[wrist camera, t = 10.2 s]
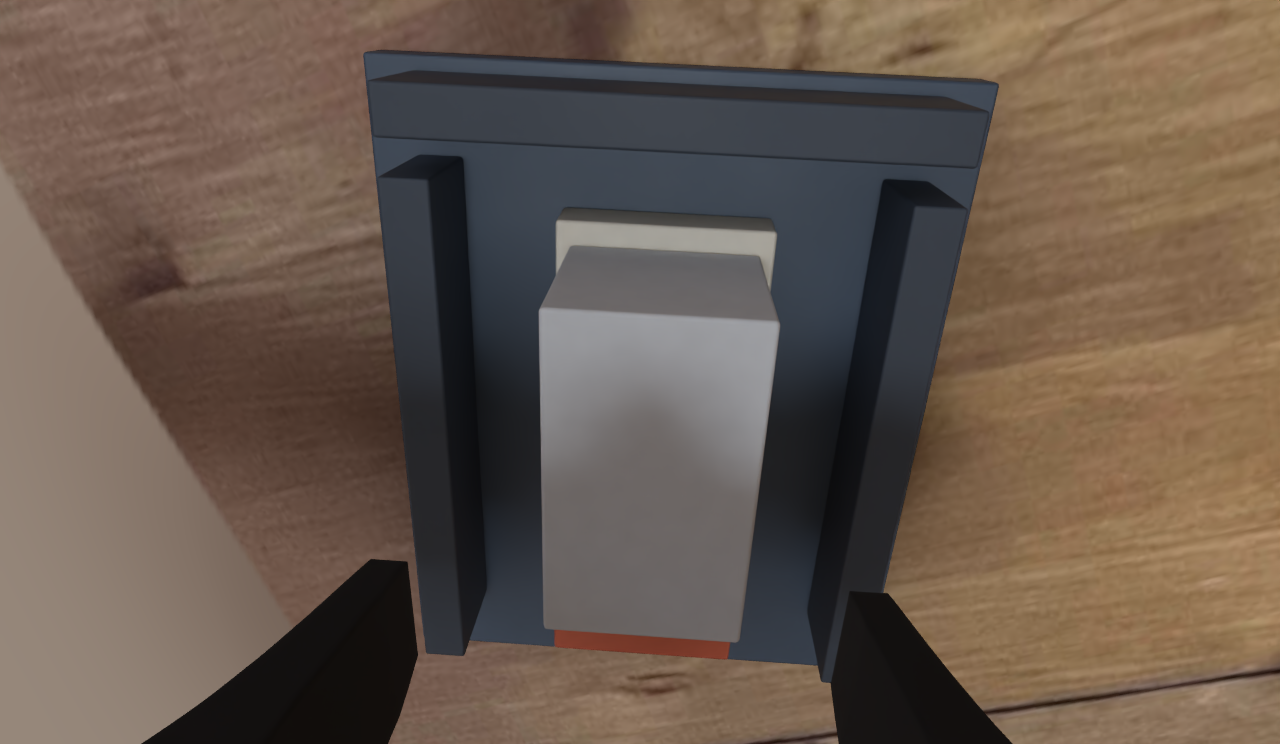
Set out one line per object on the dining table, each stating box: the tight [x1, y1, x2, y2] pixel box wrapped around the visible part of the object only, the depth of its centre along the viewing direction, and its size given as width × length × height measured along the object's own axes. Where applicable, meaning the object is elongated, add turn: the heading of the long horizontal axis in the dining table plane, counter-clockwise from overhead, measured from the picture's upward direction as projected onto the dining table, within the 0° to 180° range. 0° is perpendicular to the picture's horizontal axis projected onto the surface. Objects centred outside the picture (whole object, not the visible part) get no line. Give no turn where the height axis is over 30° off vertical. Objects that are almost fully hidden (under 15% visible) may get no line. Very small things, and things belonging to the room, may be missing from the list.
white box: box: [539, 208, 780, 659], centre depth 17 cm, size 10×5×5 cm, turn 178°
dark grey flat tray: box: [363, 50, 999, 683], centre depth 18 cm, size 16×13×4 cm
